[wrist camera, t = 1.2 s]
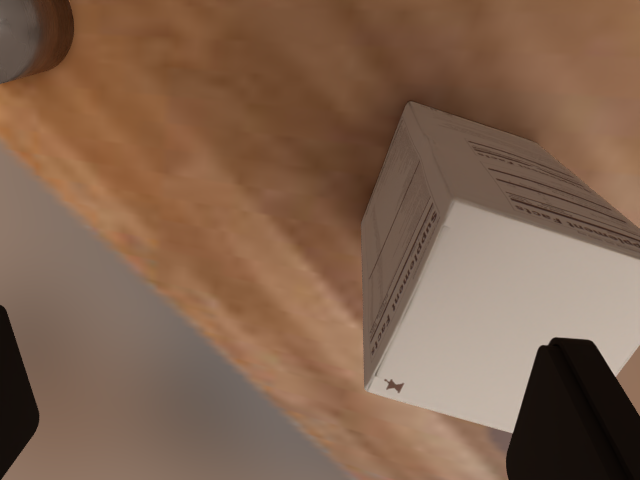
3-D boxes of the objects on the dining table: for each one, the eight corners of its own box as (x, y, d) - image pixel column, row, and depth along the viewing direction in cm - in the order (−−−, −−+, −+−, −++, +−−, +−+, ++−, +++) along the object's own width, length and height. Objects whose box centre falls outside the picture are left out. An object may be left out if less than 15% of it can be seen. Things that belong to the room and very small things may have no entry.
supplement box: (478, 263, 36) (563, 458, 21) (357, 226, 36) (358, 401, 21) (543, 139, 32) (706, 275, 17) (407, 95, 31) (453, 195, 16)
